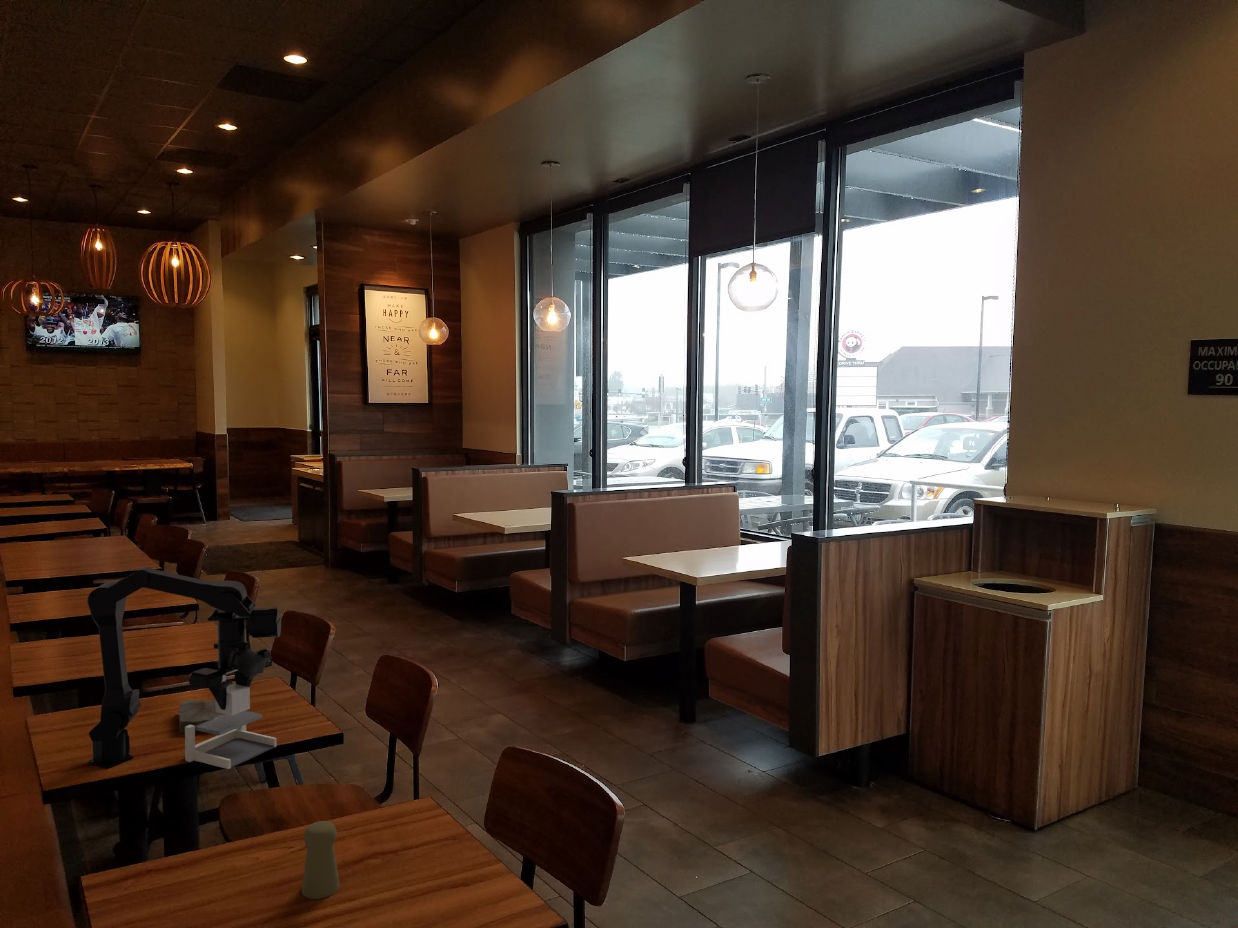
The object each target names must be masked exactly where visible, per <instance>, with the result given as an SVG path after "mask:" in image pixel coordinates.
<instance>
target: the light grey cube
mask: <svg viewBox="0 0 1238 928" xmlns="http://www.w3.org/2000/svg"><path fill="white" fill-rule="evenodd" d="M250 697H251V694H250V687H246V686H241V685H237V684H236V683H233V684H229V685H228V687H227V693H226V709H225V710H222V709H221V708H220V707H219V705H218V703H217V701H216V712H218V713H223V714H227V715H232V716H233V715H235V714H238V713H240V712H243V711H245V710H246V711H248V710H250V709H251V698H250Z"/></svg>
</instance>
